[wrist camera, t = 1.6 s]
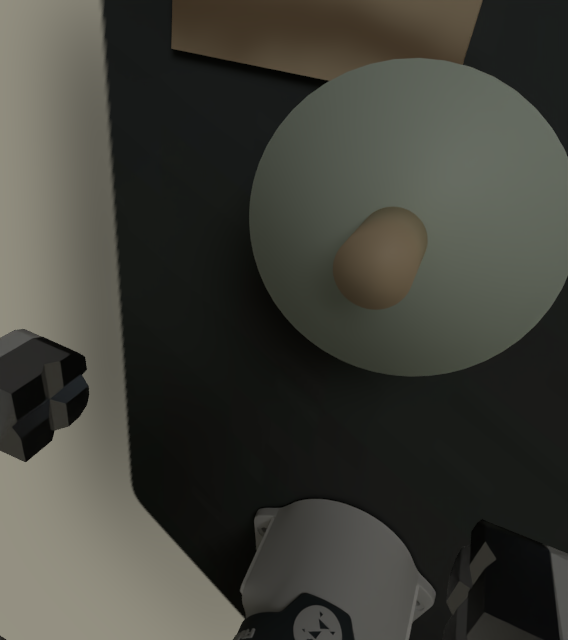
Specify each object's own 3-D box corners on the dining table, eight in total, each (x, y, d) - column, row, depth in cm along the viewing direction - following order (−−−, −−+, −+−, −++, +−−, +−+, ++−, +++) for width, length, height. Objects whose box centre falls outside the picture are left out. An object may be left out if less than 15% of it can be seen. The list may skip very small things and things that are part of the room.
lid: (494, 406, 23) (493, 475, 19) (242, 316, 26) (197, 358, 22) (655, 98, 16) (708, 106, 12) (277, 30, 19) (220, 19, 15)
